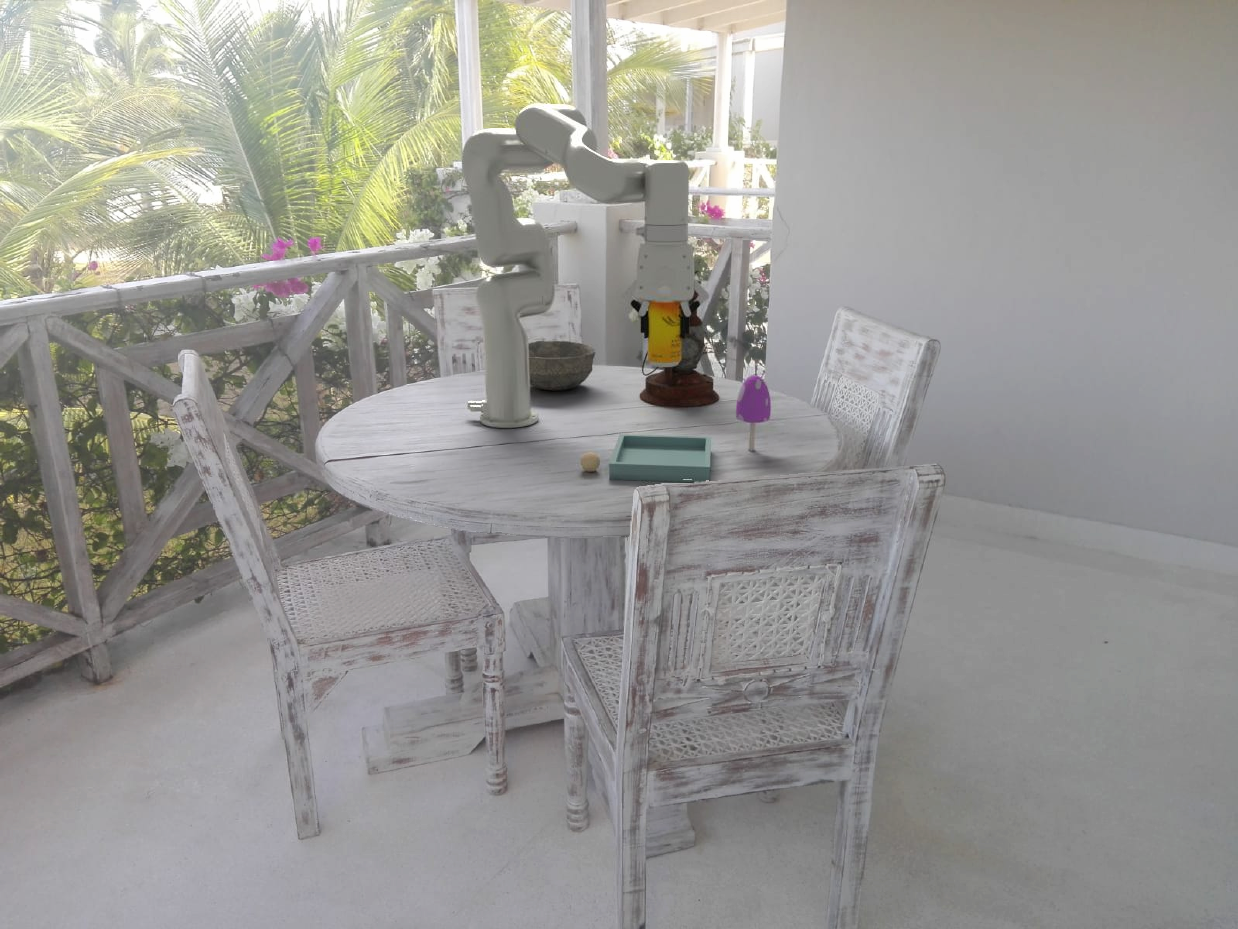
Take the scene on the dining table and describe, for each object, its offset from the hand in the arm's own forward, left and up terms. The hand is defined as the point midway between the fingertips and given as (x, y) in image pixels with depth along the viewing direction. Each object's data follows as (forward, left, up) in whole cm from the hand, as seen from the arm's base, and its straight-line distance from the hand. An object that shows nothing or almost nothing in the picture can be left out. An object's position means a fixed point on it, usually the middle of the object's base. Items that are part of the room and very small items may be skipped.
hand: (665, 336), depth 169 cm
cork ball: (-13, -5, -24) cm, 28 cm away
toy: (+17, +11, -25) cm, 32 cm away
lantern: (+1, +50, -25) cm, 56 cm away
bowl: (-30, +55, -25) cm, 68 cm away
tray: (0, 0, -24) cm, 24 cm away
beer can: (0, 0, -5) cm, 5 cm away
